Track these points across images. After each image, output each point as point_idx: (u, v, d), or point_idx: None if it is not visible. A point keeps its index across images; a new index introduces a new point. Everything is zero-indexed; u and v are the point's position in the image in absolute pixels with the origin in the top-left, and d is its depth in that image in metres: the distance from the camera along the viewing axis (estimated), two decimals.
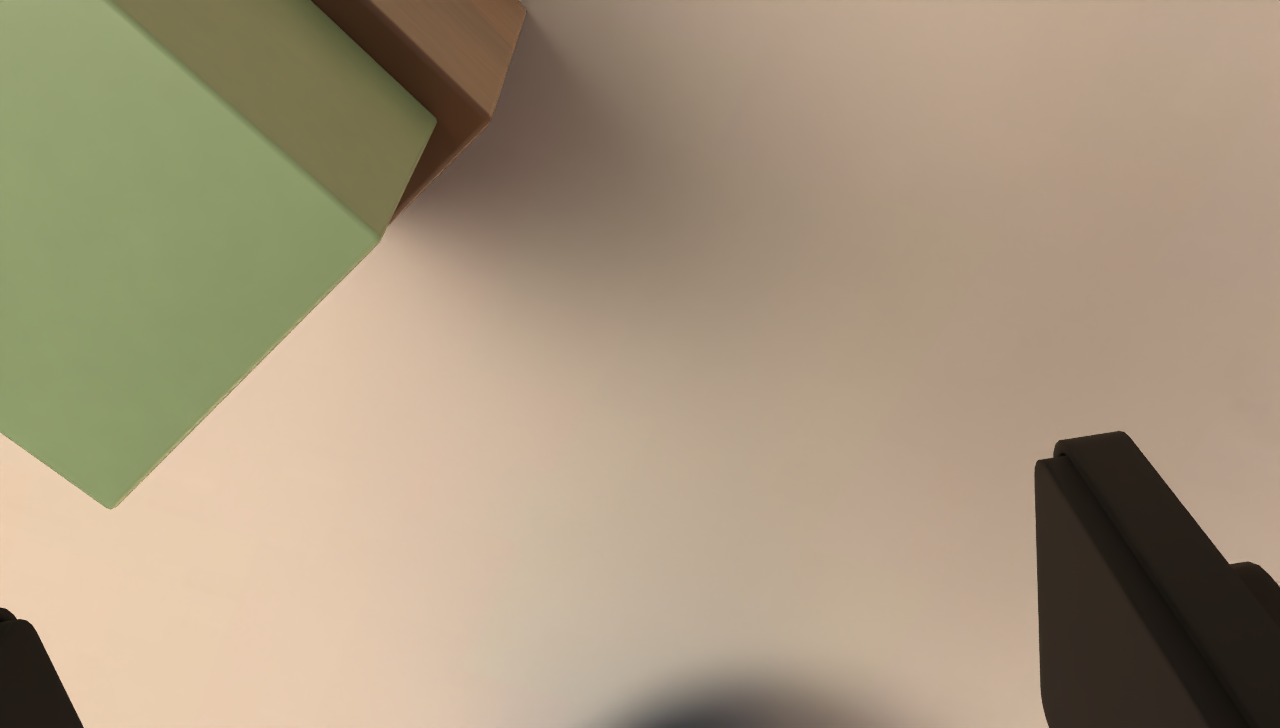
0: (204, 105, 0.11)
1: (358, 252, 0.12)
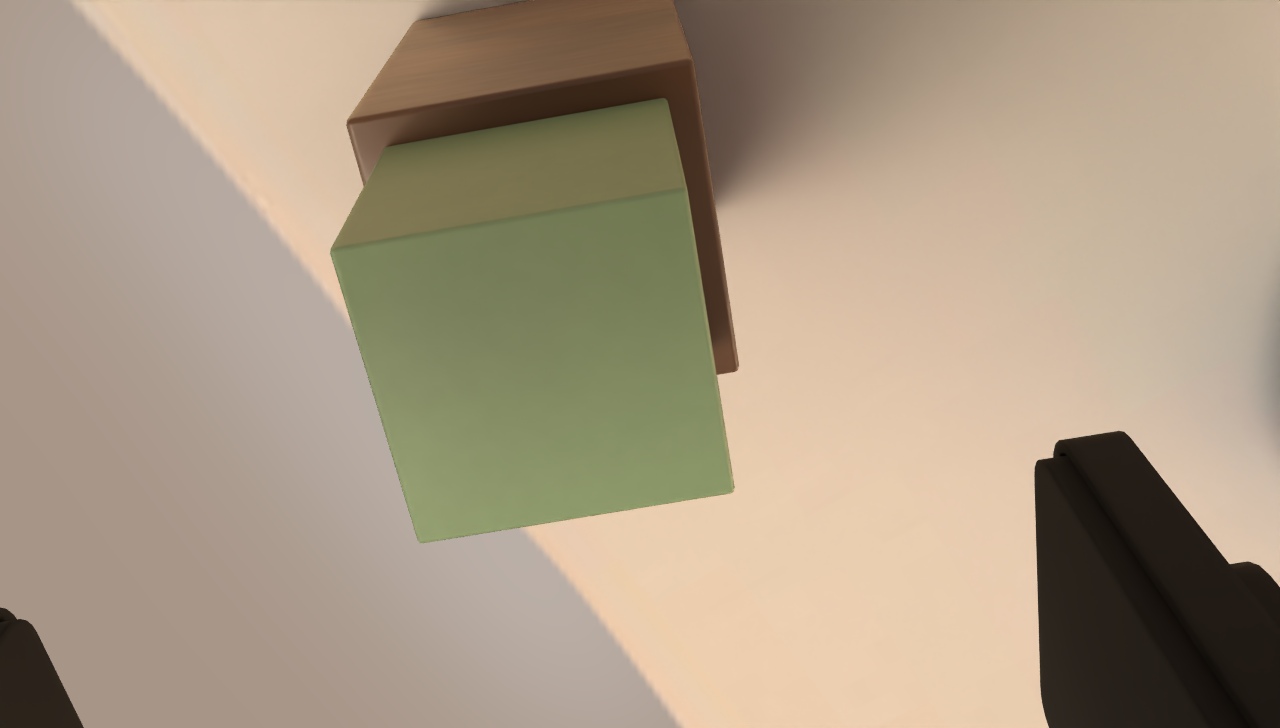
0: (527, 228, 0.15)
1: (683, 209, 0.15)
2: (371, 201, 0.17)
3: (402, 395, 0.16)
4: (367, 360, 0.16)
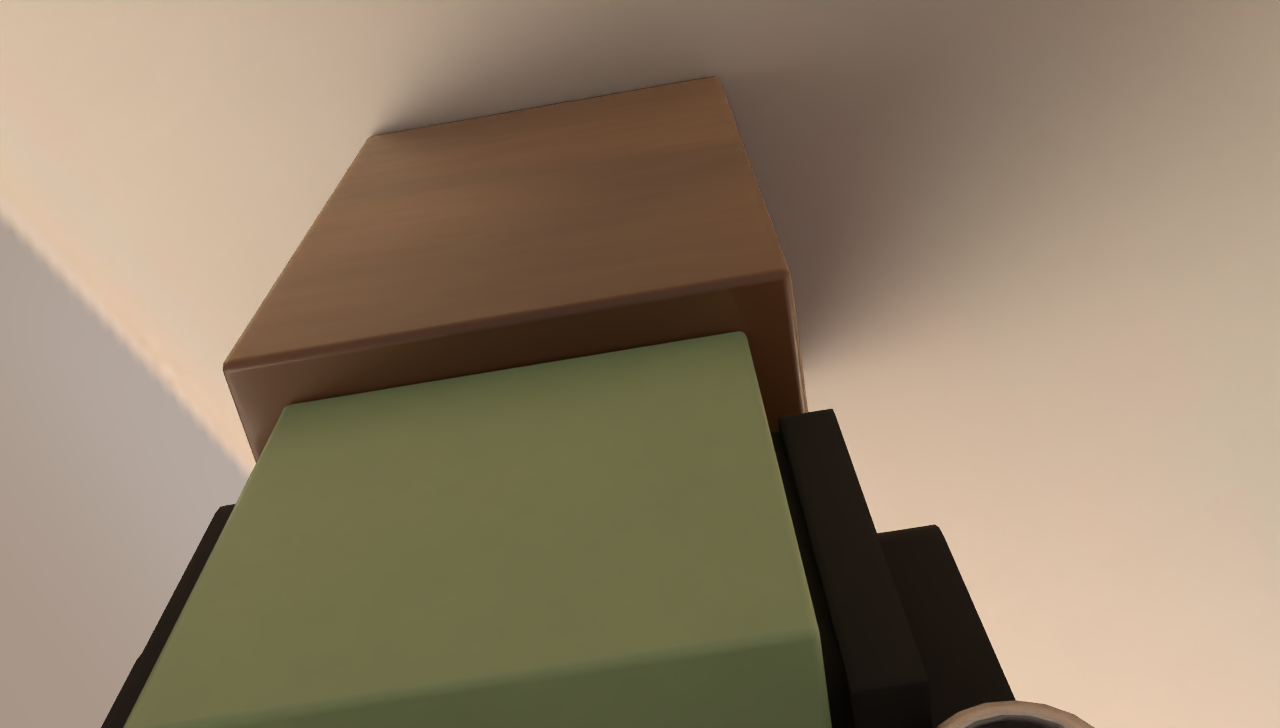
0: (502, 700, 0.08)
1: (811, 667, 0.08)
2: (230, 568, 0.09)
3: None
4: None
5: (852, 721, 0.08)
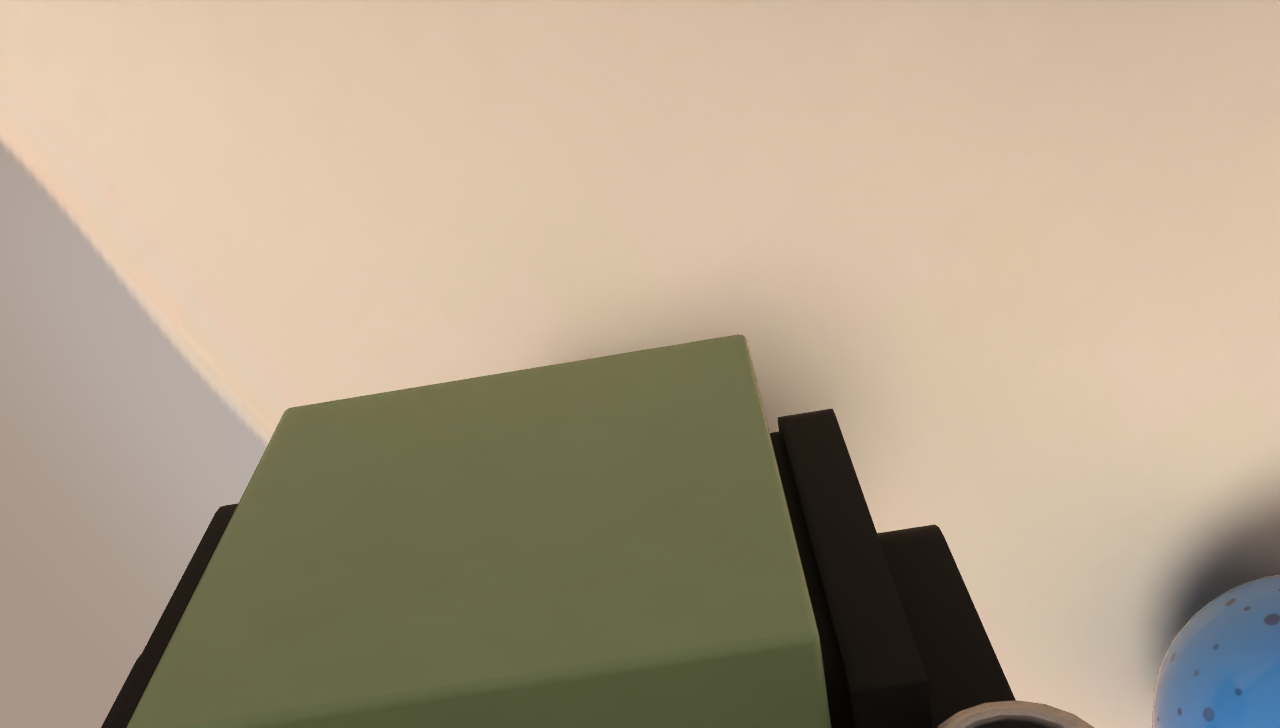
0: (504, 705, 0.08)
1: (811, 672, 0.08)
2: (230, 573, 0.09)
3: None
4: None
5: (853, 720, 0.08)
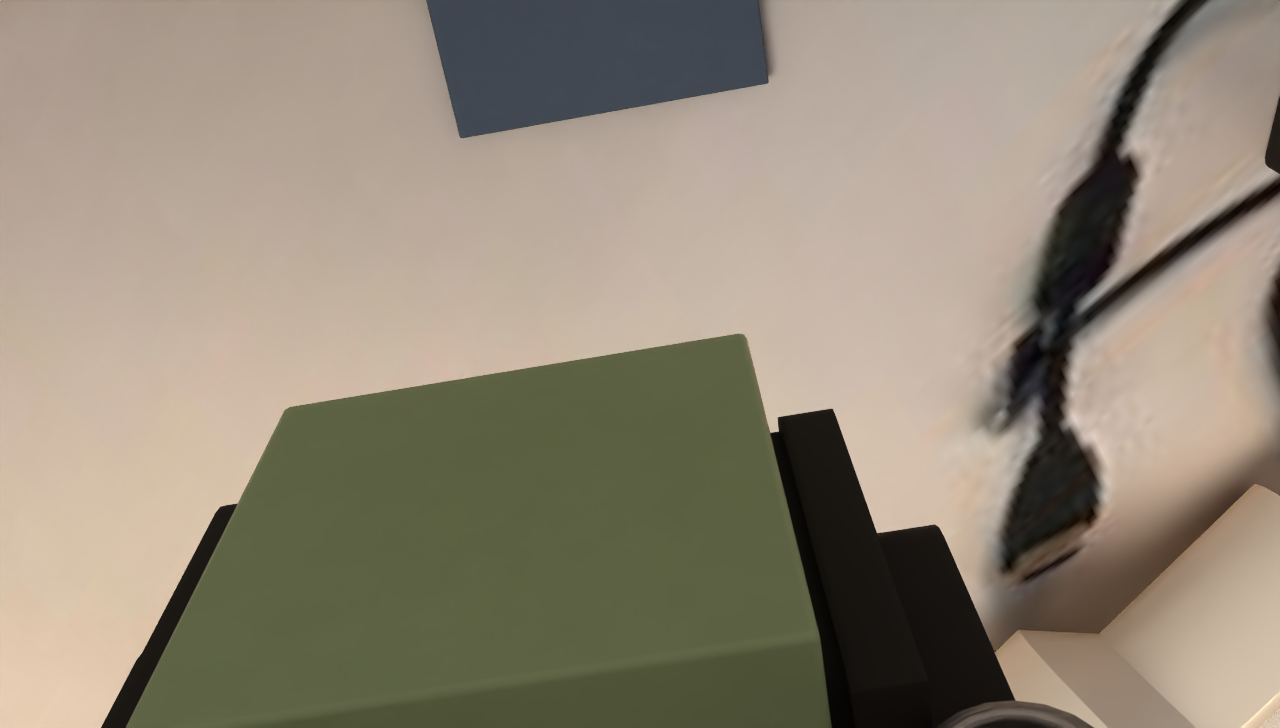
0: (504, 703, 0.08)
1: (811, 670, 0.08)
2: (231, 572, 0.09)
3: None
4: None
5: (852, 720, 0.08)
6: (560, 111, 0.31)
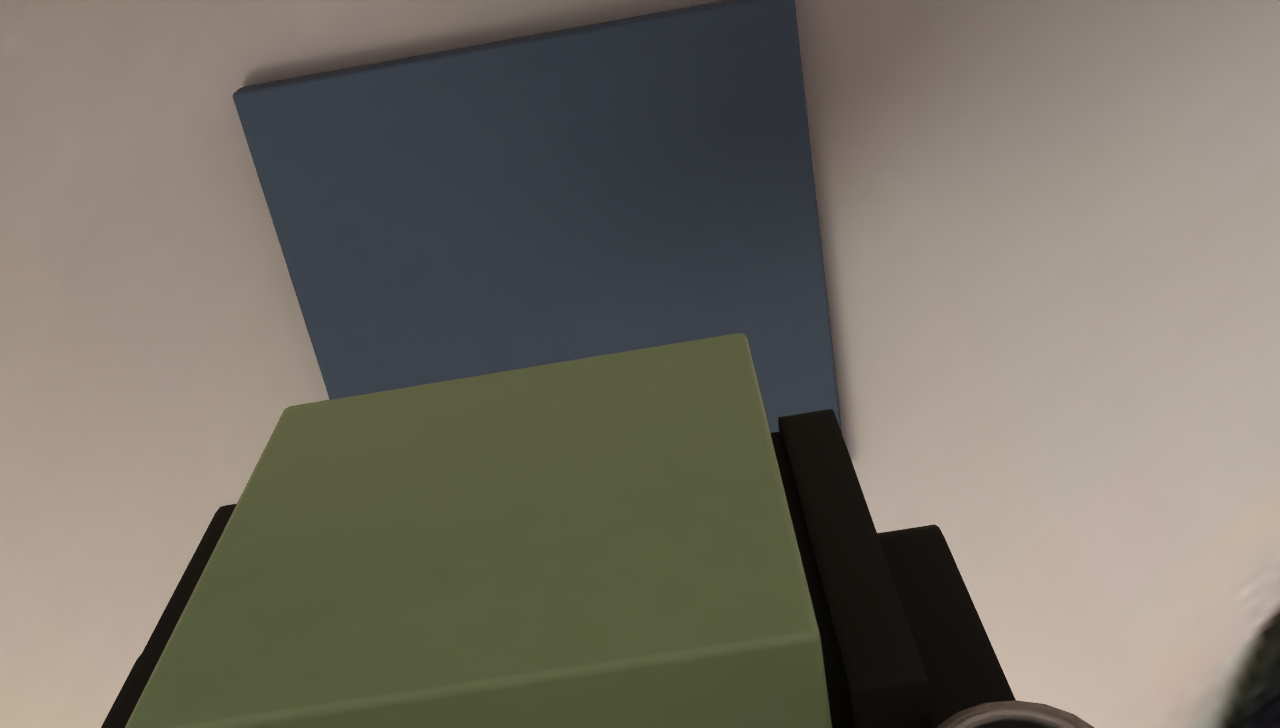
0: (504, 703, 0.08)
1: (811, 670, 0.08)
2: (229, 571, 0.09)
3: None
4: None
5: (852, 721, 0.08)
6: None
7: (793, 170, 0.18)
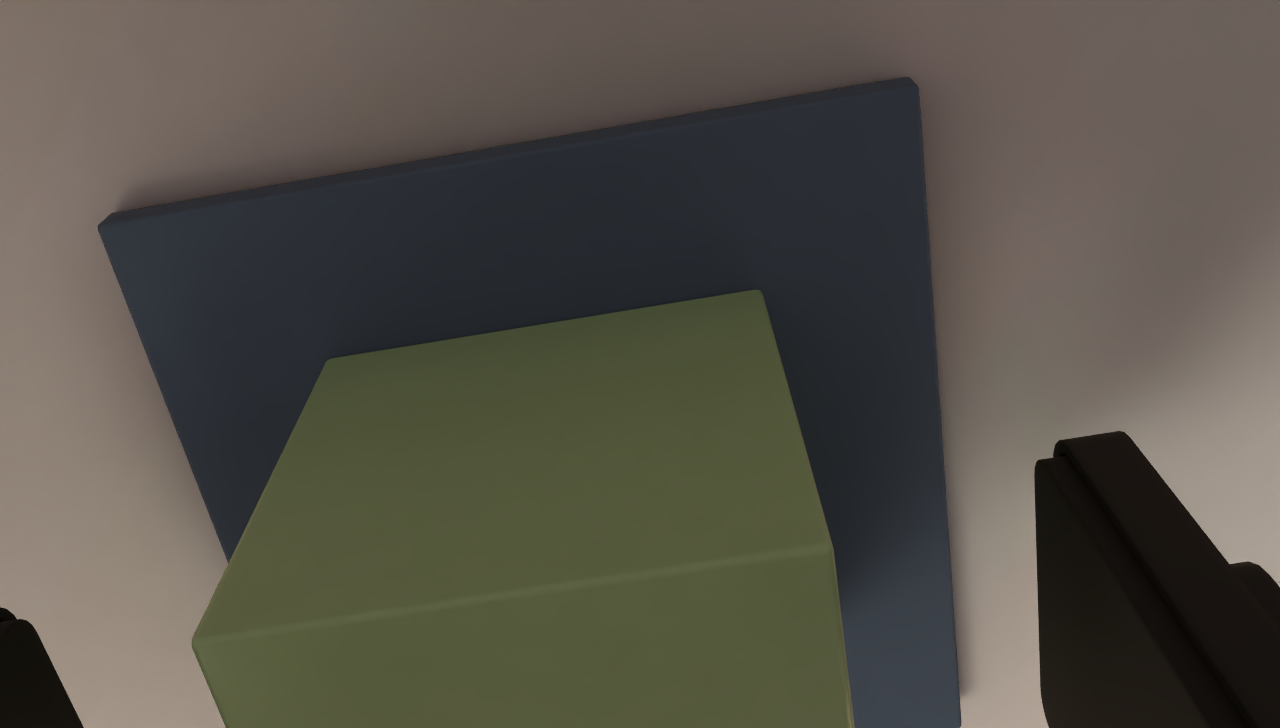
0: (543, 610, 0.08)
1: (825, 579, 0.08)
2: (284, 500, 0.10)
3: None
4: None
5: None
6: None
7: (908, 330, 0.12)
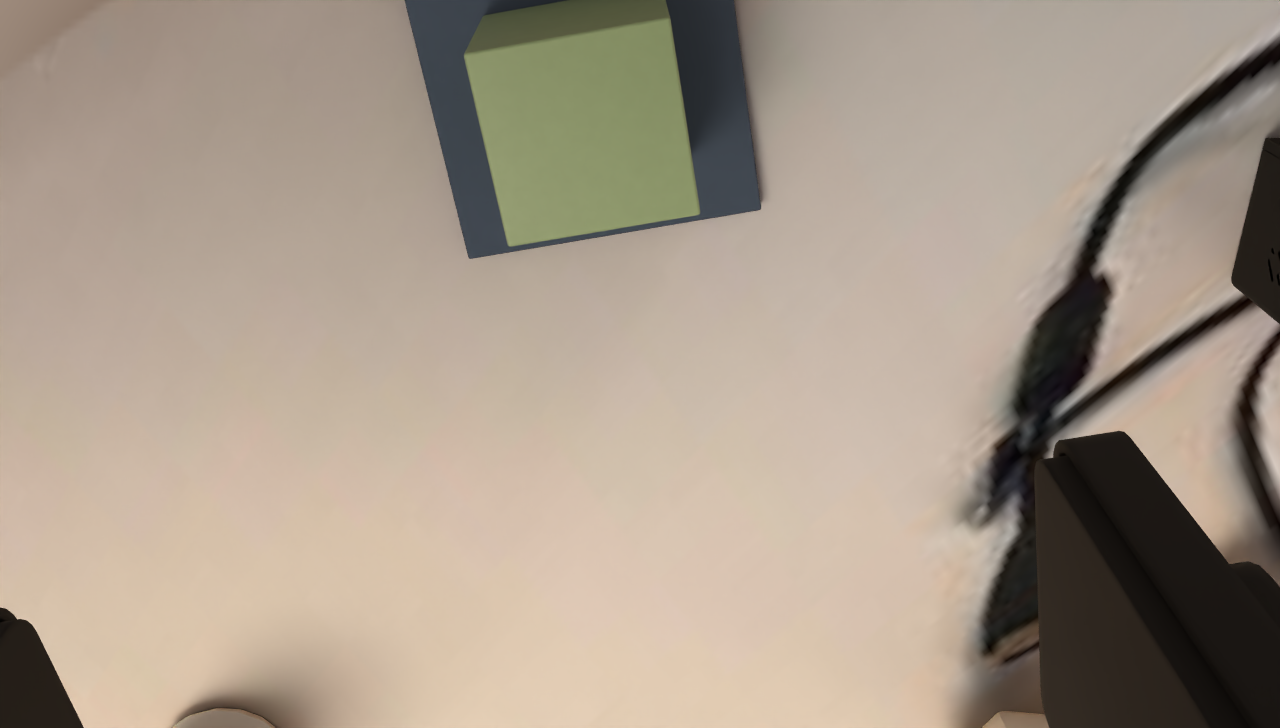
0: (578, 41, 0.26)
1: (668, 30, 0.26)
2: (482, 36, 0.27)
3: (502, 147, 0.27)
4: (483, 123, 0.27)
5: None
6: None
7: (722, 3, 0.30)
